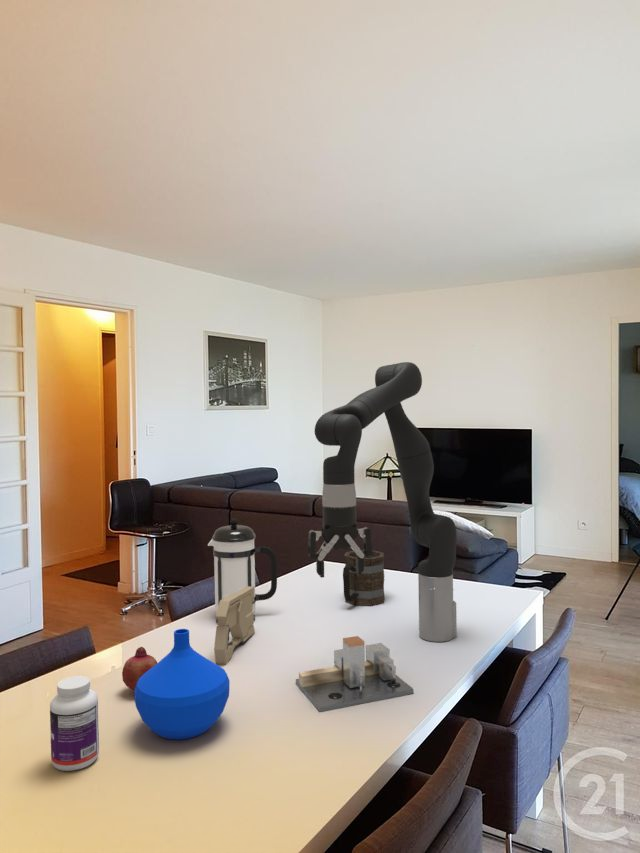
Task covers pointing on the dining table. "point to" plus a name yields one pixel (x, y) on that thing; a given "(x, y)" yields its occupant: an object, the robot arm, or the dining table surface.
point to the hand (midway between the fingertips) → (340, 575)
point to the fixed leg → (381, 661)
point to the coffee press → (238, 562)
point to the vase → (182, 692)
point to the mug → (364, 580)
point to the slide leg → (351, 661)
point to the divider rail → (328, 675)
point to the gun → (233, 623)
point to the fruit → (137, 667)
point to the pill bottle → (74, 724)
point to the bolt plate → (354, 692)
